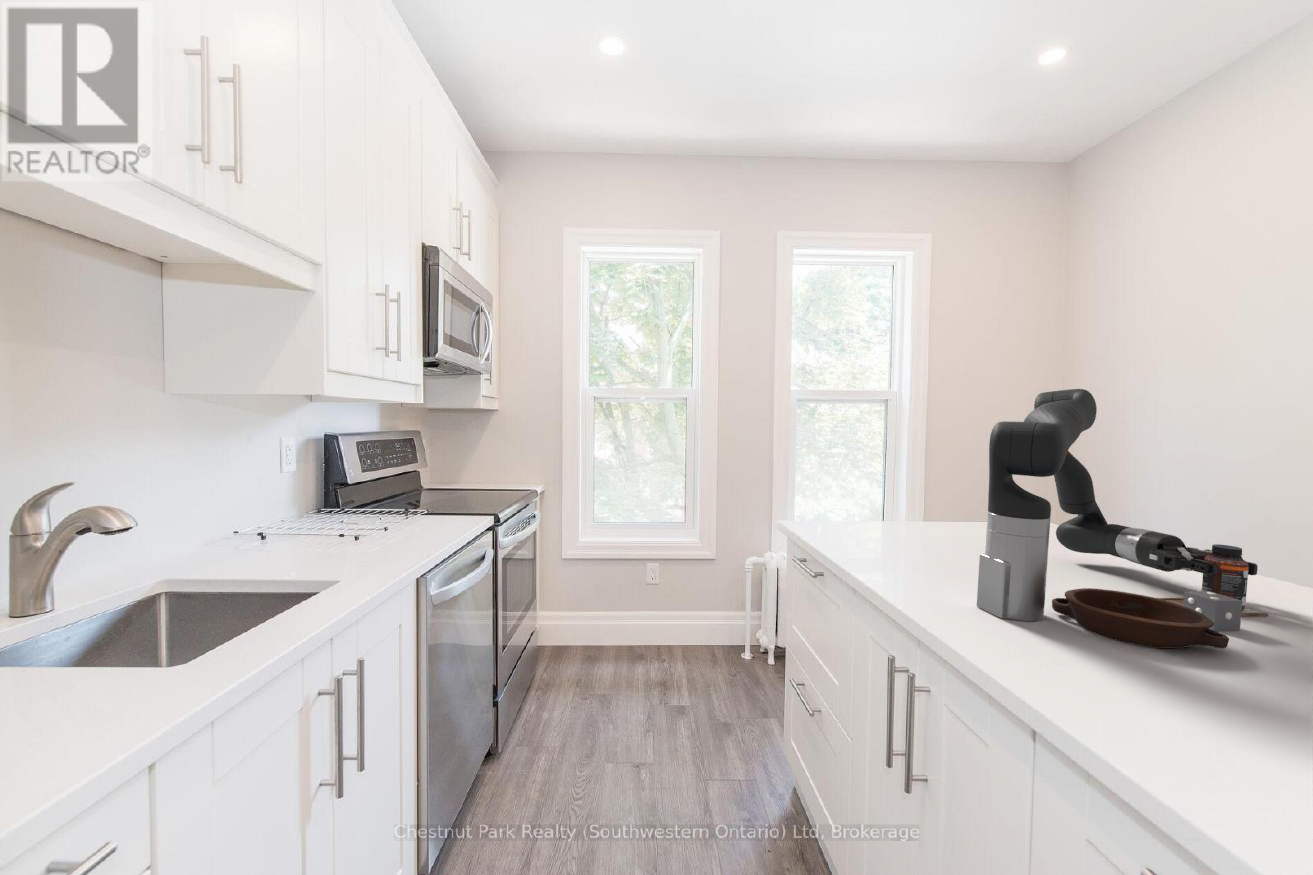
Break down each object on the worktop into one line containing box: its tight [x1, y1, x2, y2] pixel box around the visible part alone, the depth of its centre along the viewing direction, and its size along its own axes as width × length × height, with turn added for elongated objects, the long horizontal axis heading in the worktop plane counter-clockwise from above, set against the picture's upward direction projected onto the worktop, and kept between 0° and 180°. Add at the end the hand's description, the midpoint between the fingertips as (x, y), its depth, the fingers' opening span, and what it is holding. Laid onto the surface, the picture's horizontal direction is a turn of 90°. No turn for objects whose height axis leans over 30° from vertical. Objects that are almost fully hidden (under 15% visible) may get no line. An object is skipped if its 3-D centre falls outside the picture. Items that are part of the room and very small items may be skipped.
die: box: [1183, 590, 1242, 632], centre depth 98 cm, size 5×5×5 cm
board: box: [1157, 597, 1269, 618], centre depth 107 cm, size 21×9×1 cm, turn 98°
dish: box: [1051, 587, 1230, 649], centre depth 93 cm, size 18×22×5 cm
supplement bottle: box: [1201, 543, 1249, 610], centre depth 107 cm, size 6×6×11 cm
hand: (1236, 570), depth 106 cm, fingers open, 8 cm apart
